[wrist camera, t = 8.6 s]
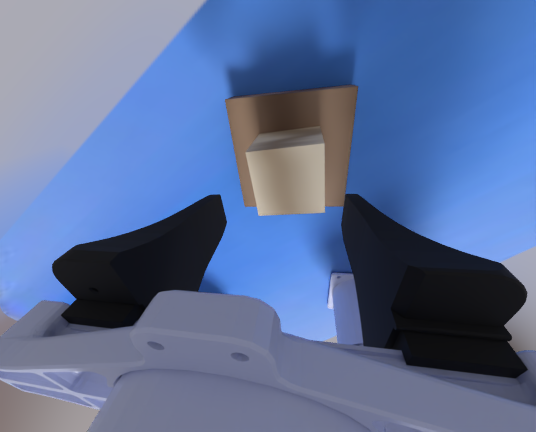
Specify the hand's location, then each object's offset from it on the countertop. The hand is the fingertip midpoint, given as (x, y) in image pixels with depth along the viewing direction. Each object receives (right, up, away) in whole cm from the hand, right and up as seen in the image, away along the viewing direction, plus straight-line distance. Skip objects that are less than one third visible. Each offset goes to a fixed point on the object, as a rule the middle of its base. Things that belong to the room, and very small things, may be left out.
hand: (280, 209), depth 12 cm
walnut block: (+2, +6, +9) cm, 11 cm away
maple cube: (+1, +5, +6) cm, 8 cm away
